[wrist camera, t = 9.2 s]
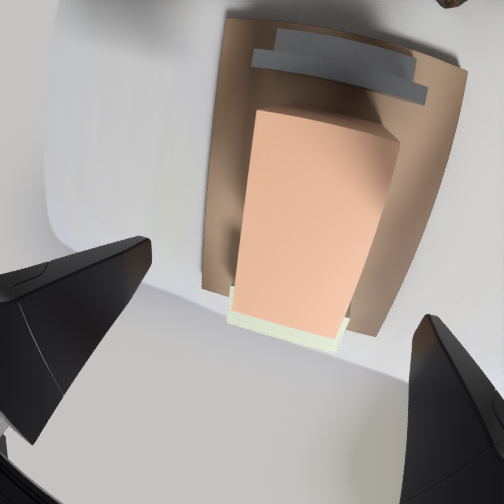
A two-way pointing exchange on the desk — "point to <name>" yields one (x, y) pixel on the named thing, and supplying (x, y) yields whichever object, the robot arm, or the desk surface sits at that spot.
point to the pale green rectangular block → (285, 328)
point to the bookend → (343, 64)
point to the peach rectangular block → (310, 214)
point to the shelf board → (343, 102)
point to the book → (450, 3)
